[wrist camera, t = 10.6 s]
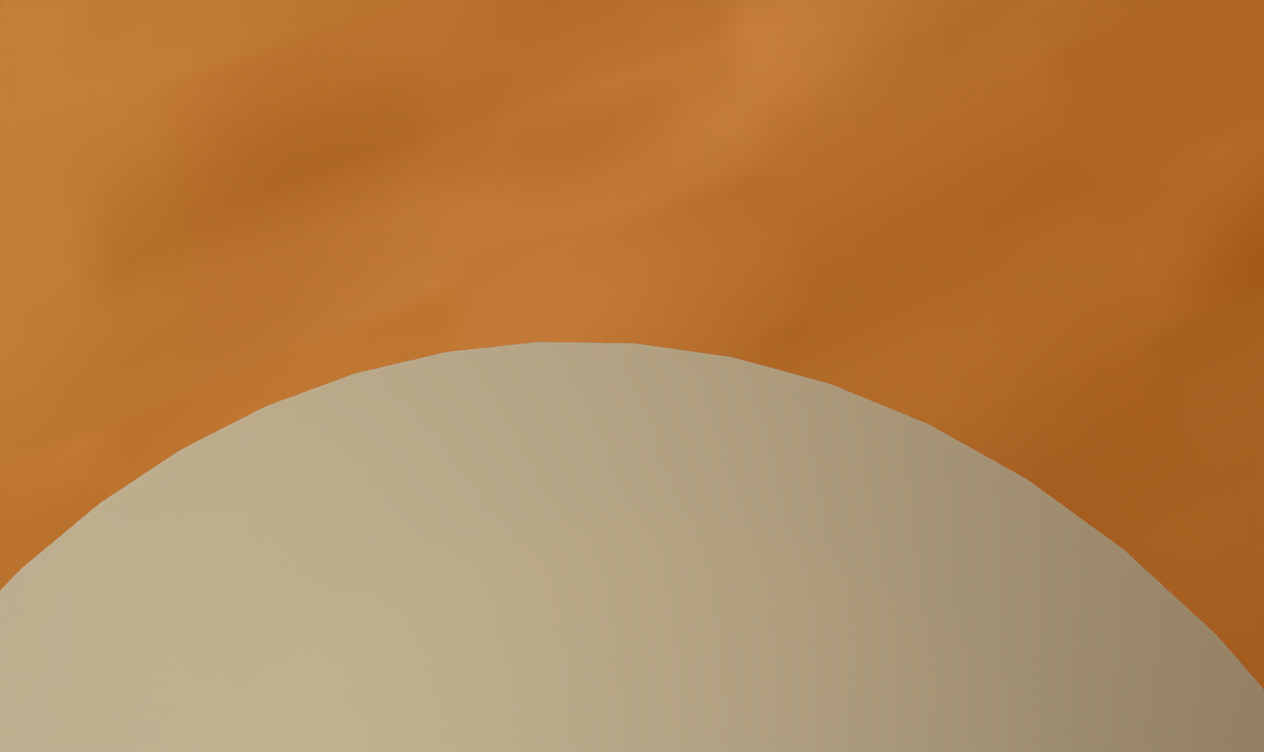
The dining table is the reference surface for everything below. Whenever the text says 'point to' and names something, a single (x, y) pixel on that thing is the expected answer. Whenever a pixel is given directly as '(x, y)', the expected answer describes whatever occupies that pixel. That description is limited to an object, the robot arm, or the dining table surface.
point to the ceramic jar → (599, 581)
